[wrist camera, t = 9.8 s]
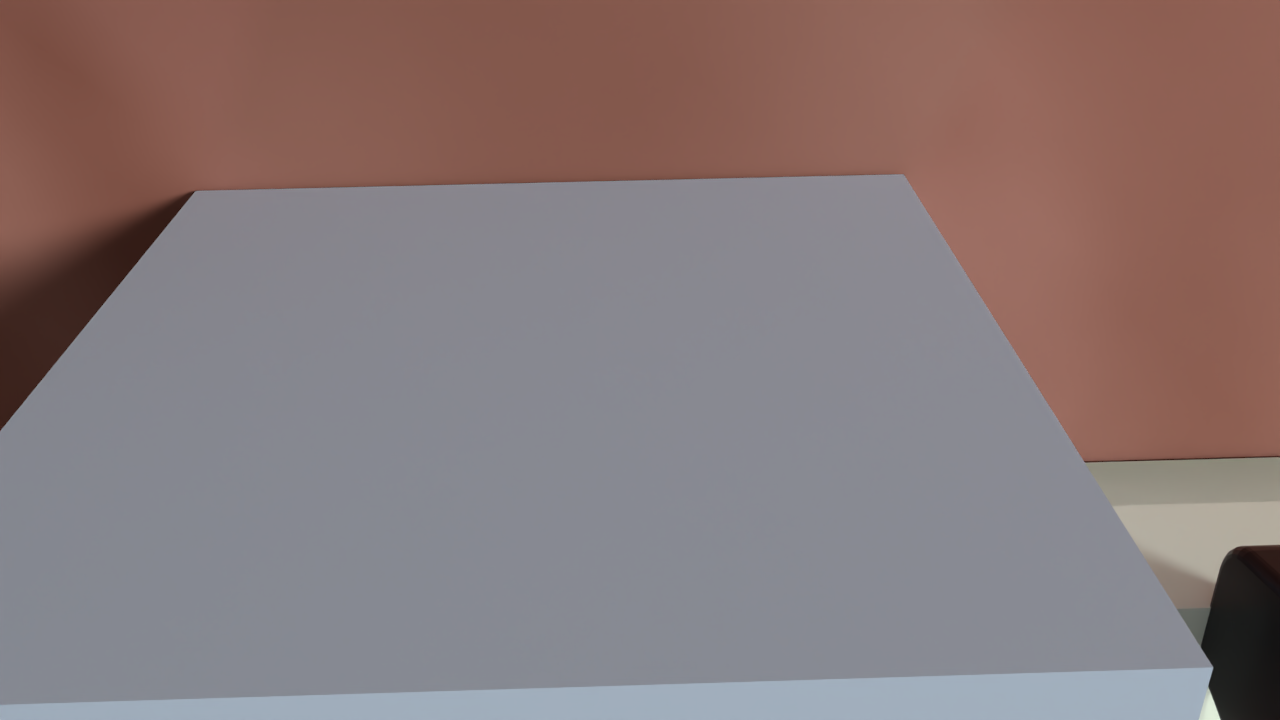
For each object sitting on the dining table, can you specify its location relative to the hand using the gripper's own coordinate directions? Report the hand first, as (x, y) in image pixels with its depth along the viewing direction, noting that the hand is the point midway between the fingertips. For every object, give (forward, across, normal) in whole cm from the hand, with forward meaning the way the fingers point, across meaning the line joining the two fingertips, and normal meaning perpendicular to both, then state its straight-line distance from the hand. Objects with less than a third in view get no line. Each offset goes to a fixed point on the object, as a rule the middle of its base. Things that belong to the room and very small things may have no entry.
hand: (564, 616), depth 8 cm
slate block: (+2, 0, 0) cm, 2 cm away
